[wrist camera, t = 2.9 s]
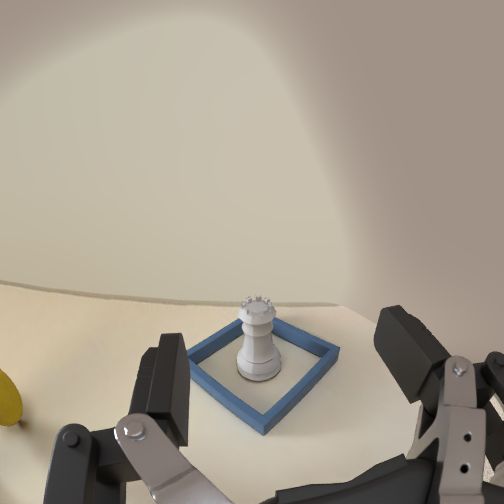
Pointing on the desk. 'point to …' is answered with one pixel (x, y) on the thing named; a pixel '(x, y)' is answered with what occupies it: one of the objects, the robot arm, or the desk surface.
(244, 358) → the rook chess piece
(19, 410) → the lemon
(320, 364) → the blue tray
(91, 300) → the desk surface
